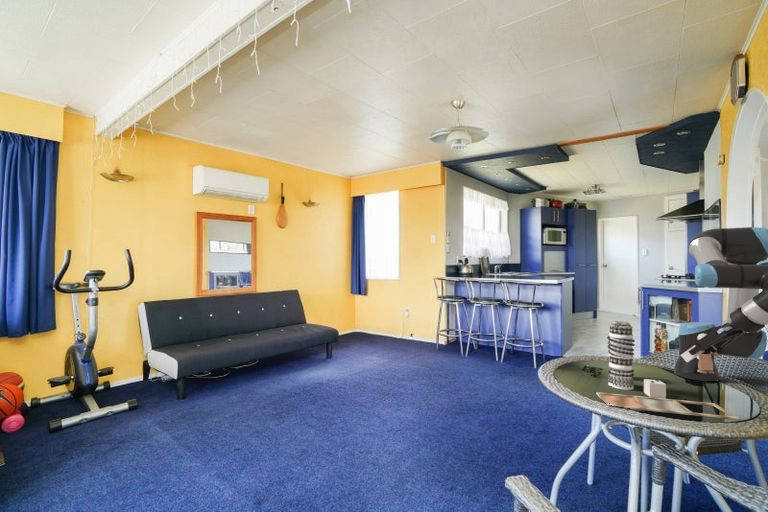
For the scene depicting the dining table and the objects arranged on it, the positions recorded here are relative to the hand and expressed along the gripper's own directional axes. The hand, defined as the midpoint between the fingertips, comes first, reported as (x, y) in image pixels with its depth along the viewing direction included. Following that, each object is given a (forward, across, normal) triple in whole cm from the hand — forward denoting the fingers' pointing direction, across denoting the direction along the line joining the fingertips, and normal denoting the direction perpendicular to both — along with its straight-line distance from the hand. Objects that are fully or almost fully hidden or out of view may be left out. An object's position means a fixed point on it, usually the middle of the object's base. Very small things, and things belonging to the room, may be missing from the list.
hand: (690, 357), depth 125 cm
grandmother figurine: (0, 0, -6) cm, 6 cm away
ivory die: (+19, -1, -4) cm, 20 cm away
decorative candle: (+28, -3, +4) cm, 28 cm away
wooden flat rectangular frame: (+14, -10, -9) cm, 19 cm away
